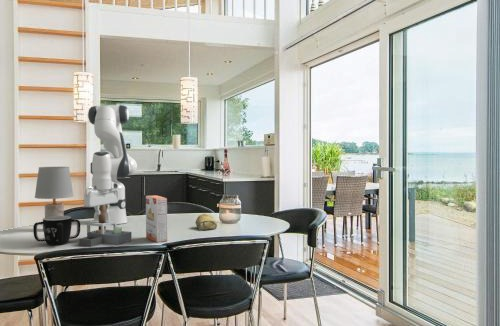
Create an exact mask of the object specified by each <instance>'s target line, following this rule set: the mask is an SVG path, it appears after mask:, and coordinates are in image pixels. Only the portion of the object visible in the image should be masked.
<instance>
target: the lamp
mask: <svg viewBox="0 0 500 326" xmlns="http://www.w3.org/2000/svg"><path fill="white" fill-rule="evenodd" d="M36 179H37V180H36V187H35V193H34V199H40V200H41V199H42V200H52V202H46V204H44V218H46V217H52V216H65V214H64V213H65V212H64V211H65V209H64V206H65V205H64V203H62V202H60V201H57V202H56V200H58V199H69V198H73V197H74V192H73V185H72V177H71V171H70V167H69V166H40V167H38V173H37V178H36Z"/></svg>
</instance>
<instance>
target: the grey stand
mask: <svg viewBox="0 0 500 326" xmlns="http://www.w3.org/2000/svg"><path fill="white" fill-rule="evenodd" d="M112 225H113V229H106V232H104V226H106V227H107V226H112ZM91 226H93V227H99V226H101V233H100V232H98V229H97V230H93V231H91ZM115 227H118V224H117V221H106V223H99V221H95V222H90V221H89V222H87V223H86V237H88V236H96V237H102V244H110V245H120V244H123V243H126V242H131V241H132V240H133V238H132V236H133V235H132V231H128V230H127V231H125V230H122V233H121V234H114V228H115Z"/></svg>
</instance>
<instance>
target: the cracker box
mask: <svg viewBox="0 0 500 326" xmlns="http://www.w3.org/2000/svg"><path fill="white" fill-rule="evenodd" d="M145 233H146V234H145V237H146V238H147V239H149V240H151V241H153V242H155V243H156V244H157V243H163V242H168V198H167V197H164V196H161V195H145Z"/></svg>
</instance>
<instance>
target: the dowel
mask: <svg viewBox="0 0 500 326" xmlns="http://www.w3.org/2000/svg"><path fill="white" fill-rule="evenodd" d="M104 197H105V196H104ZM99 210H100V211H101V215H99V223H106V205H100V208H99ZM106 228H107V226H104V229H106ZM98 229H100V230H101V226H98ZM106 230H107V229H106Z"/></svg>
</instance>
